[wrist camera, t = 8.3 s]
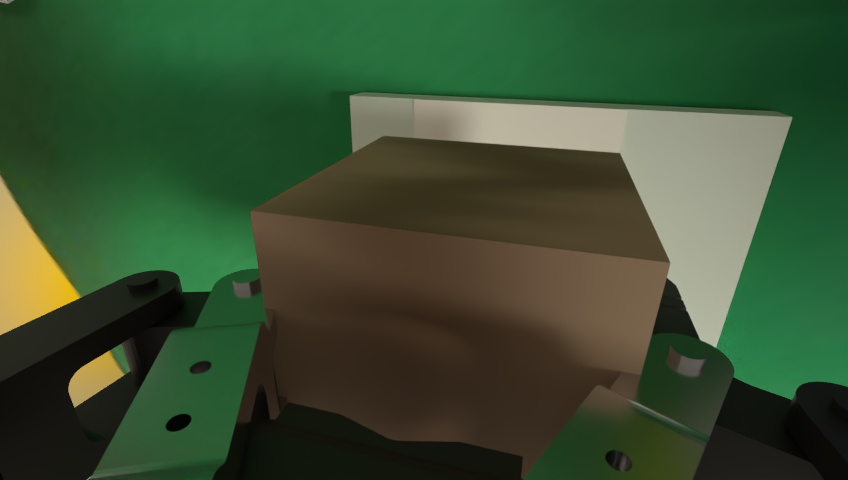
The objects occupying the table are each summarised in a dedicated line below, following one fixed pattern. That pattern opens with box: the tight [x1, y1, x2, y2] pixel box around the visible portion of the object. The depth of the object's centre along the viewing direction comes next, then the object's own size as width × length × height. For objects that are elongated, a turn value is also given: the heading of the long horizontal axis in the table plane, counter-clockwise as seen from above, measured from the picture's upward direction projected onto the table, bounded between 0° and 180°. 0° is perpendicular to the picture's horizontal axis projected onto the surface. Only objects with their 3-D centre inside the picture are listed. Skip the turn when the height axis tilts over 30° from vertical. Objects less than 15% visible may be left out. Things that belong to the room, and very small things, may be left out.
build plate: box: [350, 92, 793, 348], centre depth 19 cm, size 14×18×1 cm
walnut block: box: [250, 136, 671, 479], centre depth 10 cm, size 6×6×6 cm
